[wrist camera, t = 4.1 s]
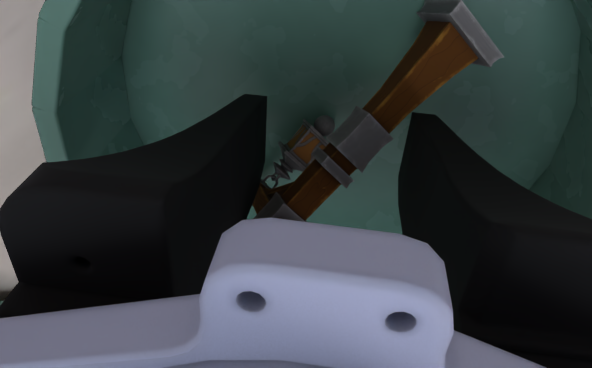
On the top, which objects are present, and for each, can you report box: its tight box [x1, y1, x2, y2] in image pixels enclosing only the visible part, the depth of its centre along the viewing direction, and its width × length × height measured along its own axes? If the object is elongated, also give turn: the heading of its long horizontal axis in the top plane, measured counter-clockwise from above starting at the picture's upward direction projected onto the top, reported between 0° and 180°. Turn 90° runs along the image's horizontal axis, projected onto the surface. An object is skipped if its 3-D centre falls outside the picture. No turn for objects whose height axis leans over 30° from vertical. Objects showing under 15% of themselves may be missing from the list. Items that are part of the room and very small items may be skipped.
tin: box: [32, 0, 592, 235], centre depth 13 cm, size 14×14×4 cm
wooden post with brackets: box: [252, 0, 504, 222], centre depth 14 cm, size 2×8×4 cm, turn 135°
